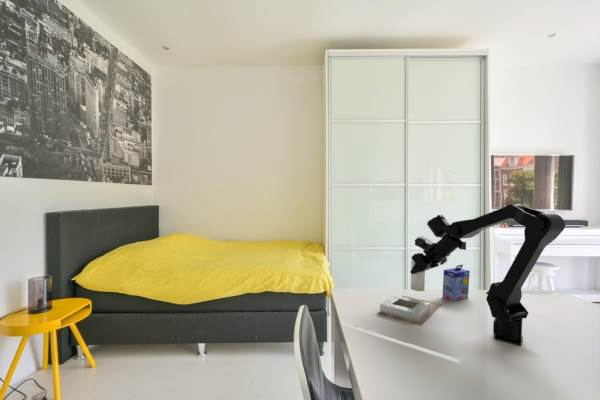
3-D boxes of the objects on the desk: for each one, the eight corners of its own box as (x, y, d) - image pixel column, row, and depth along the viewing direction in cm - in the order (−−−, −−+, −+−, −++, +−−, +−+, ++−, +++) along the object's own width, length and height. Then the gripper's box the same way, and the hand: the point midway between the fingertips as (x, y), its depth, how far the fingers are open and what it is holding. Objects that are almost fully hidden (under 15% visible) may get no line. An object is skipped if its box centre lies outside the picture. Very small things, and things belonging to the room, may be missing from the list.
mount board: (442, 306, 116) (442, 304, 116) (421, 328, 97) (421, 325, 97) (403, 297, 125) (403, 295, 125) (376, 315, 106) (376, 313, 106)
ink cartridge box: (454, 303, 119) (455, 266, 119) (441, 299, 124) (442, 263, 124) (469, 299, 124) (470, 264, 124) (456, 295, 129) (457, 261, 129)
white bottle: (426, 288, 118) (427, 255, 118) (422, 292, 114) (422, 257, 114) (413, 286, 121) (413, 253, 121) (408, 289, 118) (409, 255, 117)
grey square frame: (429, 311, 109) (430, 303, 109) (417, 323, 99) (418, 313, 99) (394, 302, 117) (394, 295, 117) (379, 312, 107) (380, 304, 107)
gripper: (439, 228, 121) (412, 252, 129) (417, 231, 108) (388, 257, 117) (460, 251, 115) (430, 274, 124) (439, 257, 103) (407, 283, 111)
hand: (414, 271), depth 119 cm, fingers closed on white bottle, 5 cm apart
